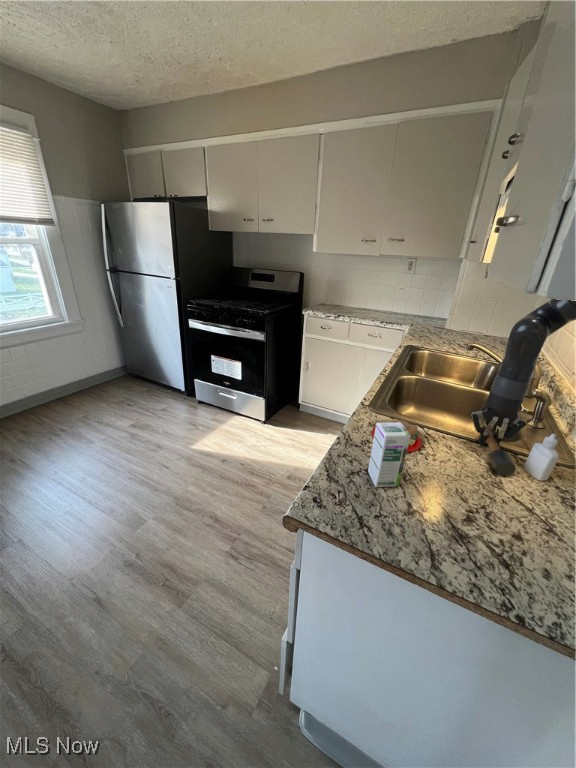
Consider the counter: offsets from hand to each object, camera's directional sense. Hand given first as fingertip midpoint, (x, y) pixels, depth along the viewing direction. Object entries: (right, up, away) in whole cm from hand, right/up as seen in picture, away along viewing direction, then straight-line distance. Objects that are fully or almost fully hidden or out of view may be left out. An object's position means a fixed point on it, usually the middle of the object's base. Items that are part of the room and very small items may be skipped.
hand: (487, 445), depth 89 cm
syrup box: (-34, -5, -14) cm, 37 cm away
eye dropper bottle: (+6, -5, -10) cm, 13 cm away
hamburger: (-25, +2, +2) cm, 25 cm away
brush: (-3, -3, -12) cm, 13 cm away
